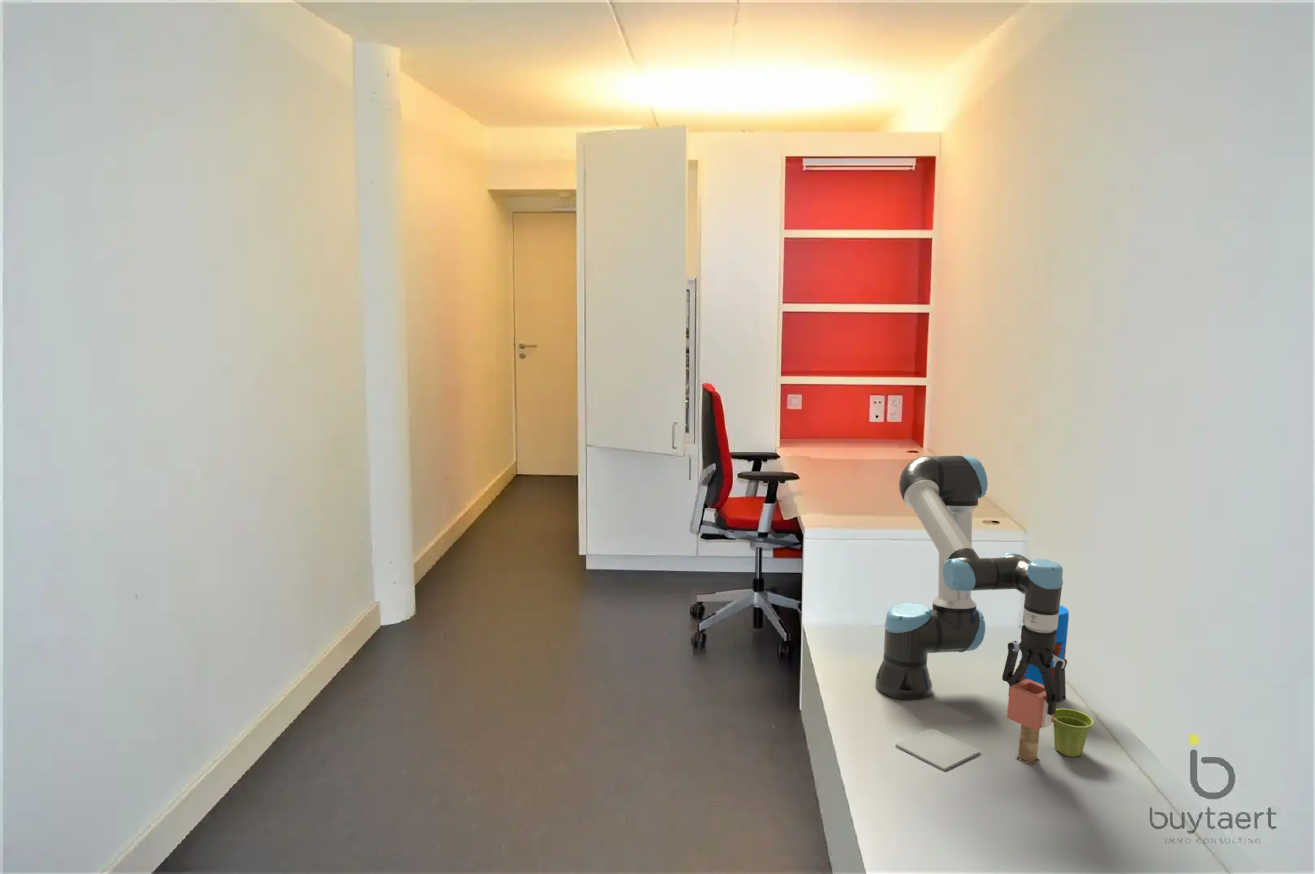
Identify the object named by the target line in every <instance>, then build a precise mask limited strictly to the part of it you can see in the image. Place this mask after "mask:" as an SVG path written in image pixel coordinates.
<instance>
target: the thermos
mask: <svg viewBox="0 0 1315 874" xmlns="http://www.w3.org/2000/svg"><path fill="white" fill-rule="evenodd" d="M1069 615H1070V614H1069V609H1068V608H1067V607H1065V606H1064V605H1061V604H1060V606H1059V616H1058V627H1057V629H1056V631H1057V635H1056V644H1055V648H1054V651H1055V654H1056V656H1057V657H1059V658H1060V659H1066V651H1067V650H1066V648H1067V642H1068V641H1067V640H1068V639H1067V638H1068V629H1069V621H1070V619H1069V617H1070V616H1069ZM1020 655H1021V656H1020V659H1021V658H1022V657H1023V655H1022V653H1021V654H1020ZM1053 665H1054V662H1053V660H1052V661H1051V666H1052V670H1051V671H1052V675H1053V679H1054V669H1055V667H1054V666H1053ZM1026 679H1030V680H1032V681H1035V682H1037V683H1040V684H1042V685H1044V684H1043V680H1042V676H1041V673H1040V672H1039V669H1038V667H1036V666H1034V665H1030V664H1029V666H1028V668H1027V670H1026V671H1025V673H1024V675H1023V677H1022V678H1021V680H1020V682H1021V681H1024V680H1026ZM1054 683H1055V680H1054Z"/></svg>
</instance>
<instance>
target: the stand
mask: <svg viewBox="0 0 1315 874" xmlns="http://www.w3.org/2000/svg"><path fill="white" fill-rule="evenodd" d="M1040 730H1041V728H1040V729H1038V730H1036V731H1035V730H1033V729H1030V728H1028V727H1026V726H1024V725H1021V724H1020V733H1019V742H1018V743H1019V744H1018V754H1017V755H1016V756H1015V758H1016V757H1017V758H1018V759H1017V760H1019V759H1021V760H1022V761H1021V760H1020V761H1021V762H1023V761H1024V762H1023V763H1025V762H1027V763H1026V764H1027V765H1029V764H1031V765H1033V764H1035V763H1037V762H1038V761H1040V758H1039V757H1038V750H1039V741H1040V740H1039V739H1040ZM1036 761H1037V762H1036ZM1034 762H1035V763H1034ZM1032 763H1033V764H1032Z"/></svg>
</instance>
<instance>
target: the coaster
mask: <svg viewBox="0 0 1315 874" xmlns="http://www.w3.org/2000/svg"><path fill="white" fill-rule="evenodd" d="M895 747H896V748H898V749H900V750H902V751H904V752H905V753H908V754H910V755H912V756H914V757H916V758H918V759H920V760H921V761H923V762H925V763H928V764H929V765H931V766H933V767H935V768H938V769H940V770H942V771H943V772H945V771H947V770H949V769H951V768H953V767H956V766H957V765H959V764H962V763H964V762H966V761H967V760H970V759H973V758H974V757H976V756H979V755H980V754H981V750H979V749H976V748H974V747H972V746H970V745H968V744H966V743H964V742H962V741H960V740H958V739H955V738H953V737H951V736H948V735H947V734H945V733H942V732H941V731H939V730H937V729H934V728H929V729H926V730H925V731H922V732H921V733H918V734H916V735H913V736H911V737H909V738H906V739H904V740H902V741H899V742H897V743H895ZM975 755H976V756H975Z"/></svg>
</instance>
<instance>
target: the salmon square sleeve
mask: <svg viewBox="0 0 1315 874" xmlns="http://www.w3.org/2000/svg"><path fill="white" fill-rule="evenodd" d="M1045 700H1047V696H1046V692H1045V688H1044V685H1042V684H1040V683H1037V682H1035V681H1032V680H1030V679H1026V680H1024V681H1021V682H1019V683H1017V684H1014V685H1012V686H1010V691H1009V690H1008V702H1007V712H1006V713H1007V714H1006V719H1008V720H1010V721H1013V722H1016V723H1017V724H1020V726H1021V725H1024V726H1026V727H1028V728H1030V729H1033V730H1035V731H1036V730H1038V729H1040V730H1041V729H1043V727H1041V726H1042V716H1043V707H1044V701H1045ZM1053 720H1054V714H1053V715H1052V718H1051V724H1052V723H1053Z"/></svg>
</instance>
